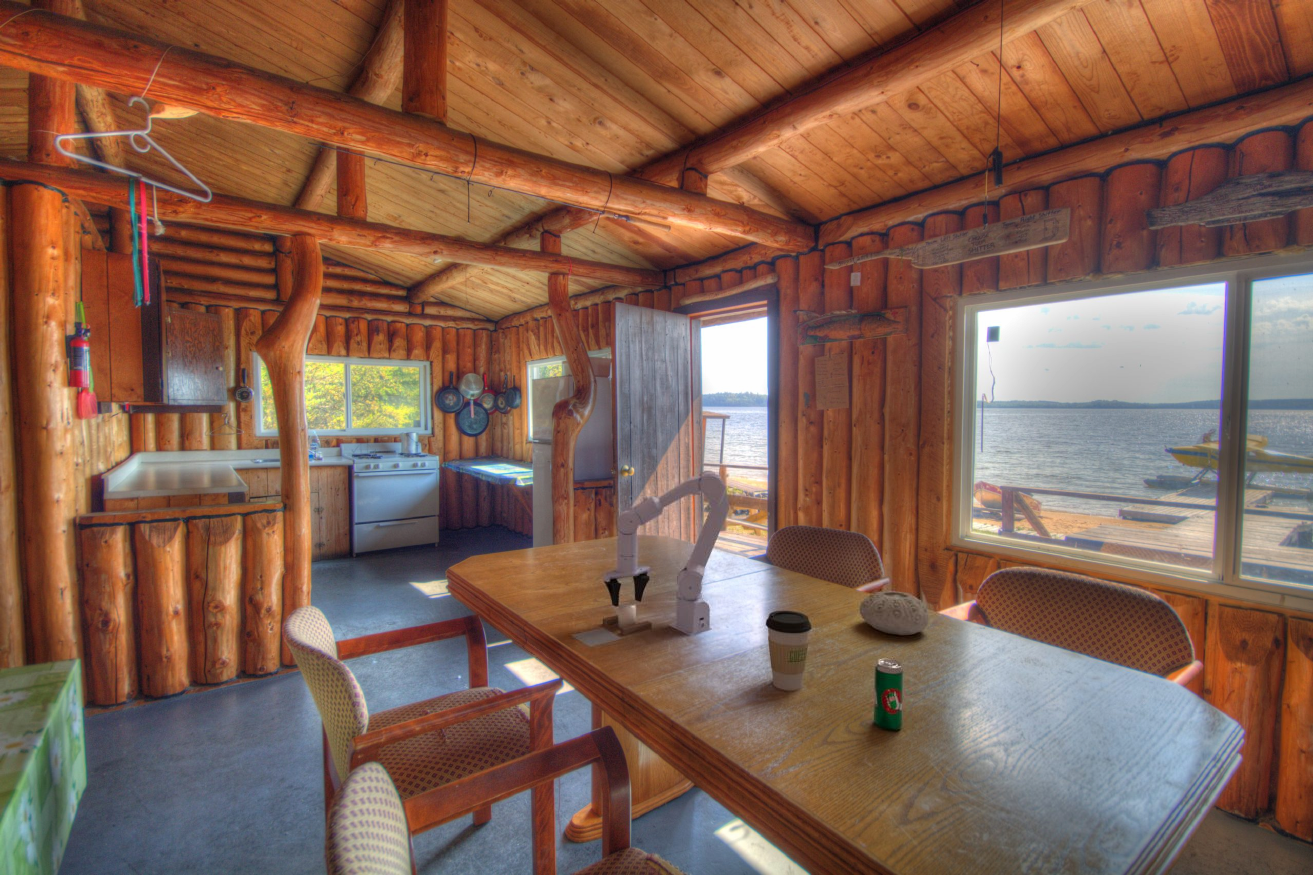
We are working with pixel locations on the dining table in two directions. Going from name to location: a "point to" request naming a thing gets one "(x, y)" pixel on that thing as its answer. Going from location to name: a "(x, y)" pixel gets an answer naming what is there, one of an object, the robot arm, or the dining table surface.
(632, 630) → the walnut cradle
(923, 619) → the decorative shell
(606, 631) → the grey mat
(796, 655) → the coffee cup
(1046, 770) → the dining table surface
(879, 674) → the soda can
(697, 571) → the robot arm
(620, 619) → the cream jug
